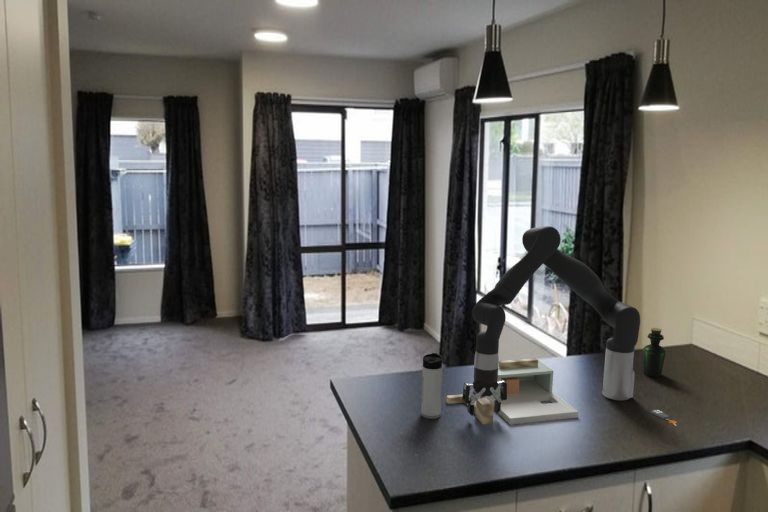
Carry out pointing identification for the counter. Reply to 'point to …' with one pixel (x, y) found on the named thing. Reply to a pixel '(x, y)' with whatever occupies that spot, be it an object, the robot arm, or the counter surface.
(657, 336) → the potion bottle
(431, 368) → the travel mug
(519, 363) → the stick
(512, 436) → the counter surface
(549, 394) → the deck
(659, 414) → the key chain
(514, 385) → the cube
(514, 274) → the robot arm
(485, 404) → the crook
